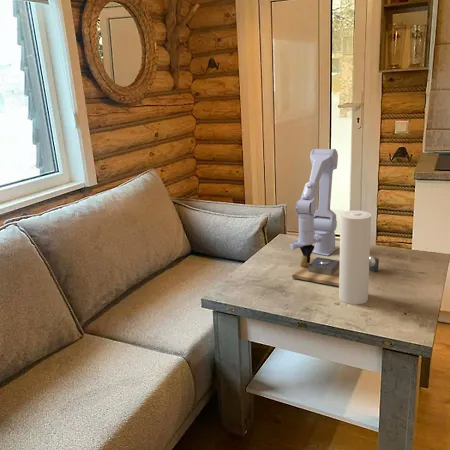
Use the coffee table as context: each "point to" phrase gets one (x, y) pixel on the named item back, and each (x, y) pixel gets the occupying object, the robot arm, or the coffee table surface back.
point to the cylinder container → (354, 256)
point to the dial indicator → (373, 264)
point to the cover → (324, 266)
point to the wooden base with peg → (315, 274)
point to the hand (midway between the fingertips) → (306, 262)
